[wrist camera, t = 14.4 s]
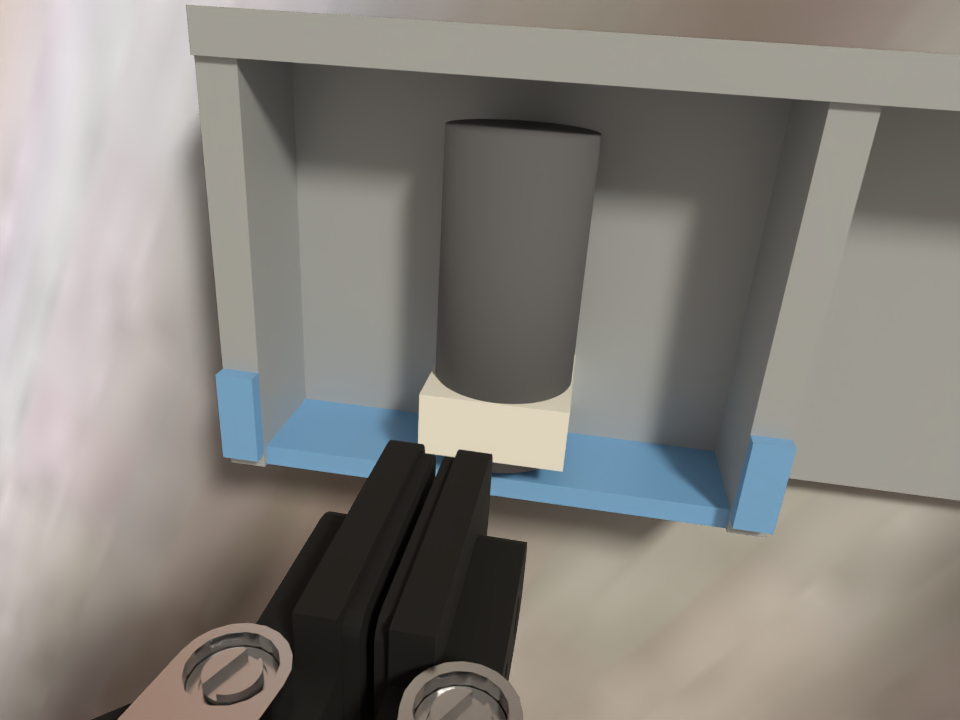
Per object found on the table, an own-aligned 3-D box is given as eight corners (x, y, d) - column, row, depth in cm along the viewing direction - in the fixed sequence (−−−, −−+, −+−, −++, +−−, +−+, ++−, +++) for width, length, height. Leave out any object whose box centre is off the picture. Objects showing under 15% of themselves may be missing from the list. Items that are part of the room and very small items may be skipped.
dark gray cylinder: (458, 115, 23) (427, 130, 19) (603, 126, 23) (603, 145, 18) (445, 399, 27) (417, 463, 23) (567, 415, 27) (561, 482, 22)
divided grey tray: (1479, 90, 20) (1761, 107, 15) (1230, 521, 25) (1375, 634, 21) (266, 11, 24) (180, 4, 19) (286, 399, 29) (224, 469, 25)
